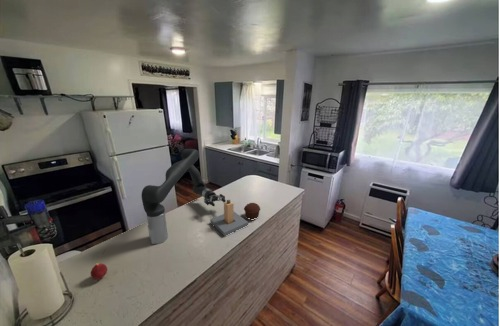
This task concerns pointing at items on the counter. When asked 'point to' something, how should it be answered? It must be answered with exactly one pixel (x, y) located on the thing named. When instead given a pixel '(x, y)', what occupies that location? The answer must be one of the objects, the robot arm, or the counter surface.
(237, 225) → the socket
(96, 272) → the onion
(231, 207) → the plug
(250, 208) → the muffin
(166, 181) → the robot arm
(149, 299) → the counter surface
